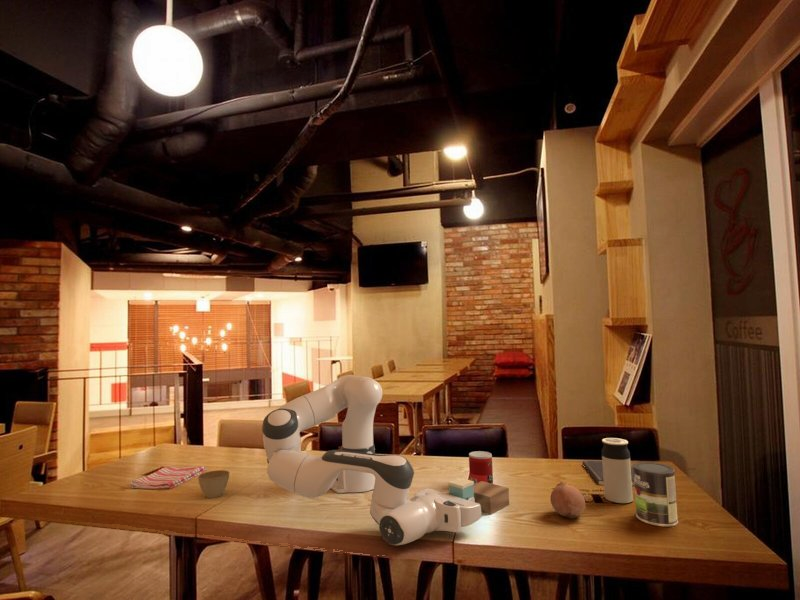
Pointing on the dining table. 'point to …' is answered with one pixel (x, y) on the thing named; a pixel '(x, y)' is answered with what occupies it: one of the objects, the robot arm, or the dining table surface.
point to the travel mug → (617, 470)
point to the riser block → (491, 496)
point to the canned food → (480, 467)
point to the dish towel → (167, 477)
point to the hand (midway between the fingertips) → (463, 496)
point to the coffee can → (655, 494)
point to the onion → (567, 500)
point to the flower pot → (213, 482)
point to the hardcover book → (600, 471)
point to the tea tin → (461, 488)
